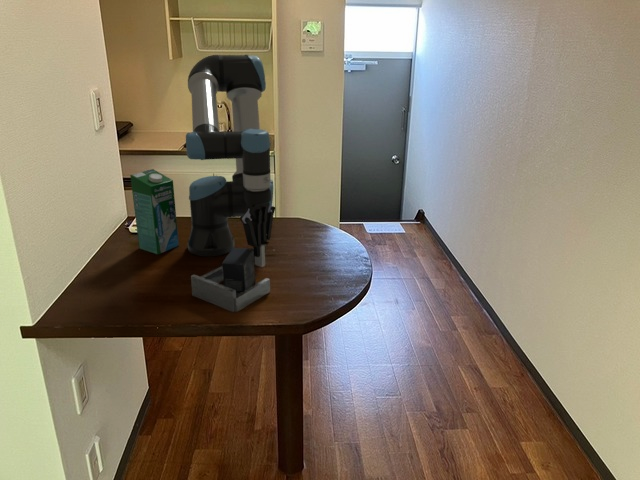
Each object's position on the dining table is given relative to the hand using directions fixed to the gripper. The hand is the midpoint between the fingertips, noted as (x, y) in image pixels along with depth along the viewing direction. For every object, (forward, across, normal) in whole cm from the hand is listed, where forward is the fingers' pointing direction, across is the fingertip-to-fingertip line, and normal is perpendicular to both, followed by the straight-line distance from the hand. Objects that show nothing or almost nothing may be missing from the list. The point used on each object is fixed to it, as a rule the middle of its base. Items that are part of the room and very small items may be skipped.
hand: (260, 265), depth 154 cm
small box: (+4, -9, 0) cm, 10 cm away
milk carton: (+4, -2, +41) cm, 42 cm away
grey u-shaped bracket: (+4, -12, 0) cm, 12 cm away
